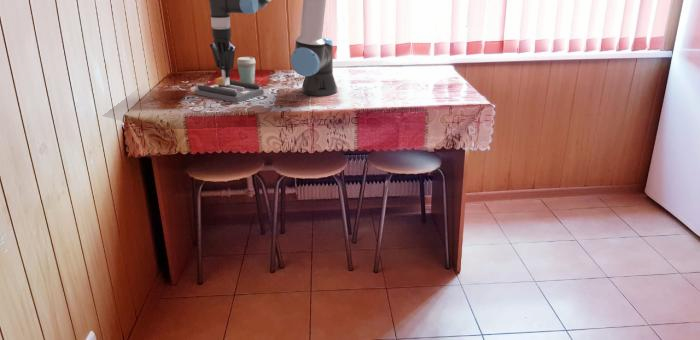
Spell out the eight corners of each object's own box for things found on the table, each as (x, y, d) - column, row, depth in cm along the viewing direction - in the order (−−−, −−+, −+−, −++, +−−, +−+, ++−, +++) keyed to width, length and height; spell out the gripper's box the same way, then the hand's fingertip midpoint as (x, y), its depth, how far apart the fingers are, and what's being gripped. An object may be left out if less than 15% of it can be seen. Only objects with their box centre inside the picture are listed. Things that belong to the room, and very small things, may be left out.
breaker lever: (229, 87, 222) (228, 77, 220) (221, 89, 218) (220, 79, 216) (224, 86, 223) (223, 76, 221) (216, 88, 219) (215, 78, 217)
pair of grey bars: (259, 88, 220) (259, 84, 219) (233, 96, 207) (233, 92, 207) (223, 82, 230) (223, 78, 229) (196, 89, 218) (196, 85, 217)
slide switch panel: (263, 93, 220) (263, 86, 219) (237, 102, 207) (237, 94, 206) (222, 86, 231) (221, 79, 230) (195, 94, 219) (194, 86, 218)
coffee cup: (253, 87, 230) (251, 60, 226) (235, 86, 232) (233, 59, 227) (260, 82, 238) (258, 56, 233) (242, 82, 240) (240, 56, 235)
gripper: (239, 27, 209) (243, 84, 218) (216, 25, 215) (221, 81, 225) (226, 30, 203) (231, 88, 212) (202, 27, 209) (208, 84, 219)
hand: (226, 84), depth 218 cm, fingers closed
